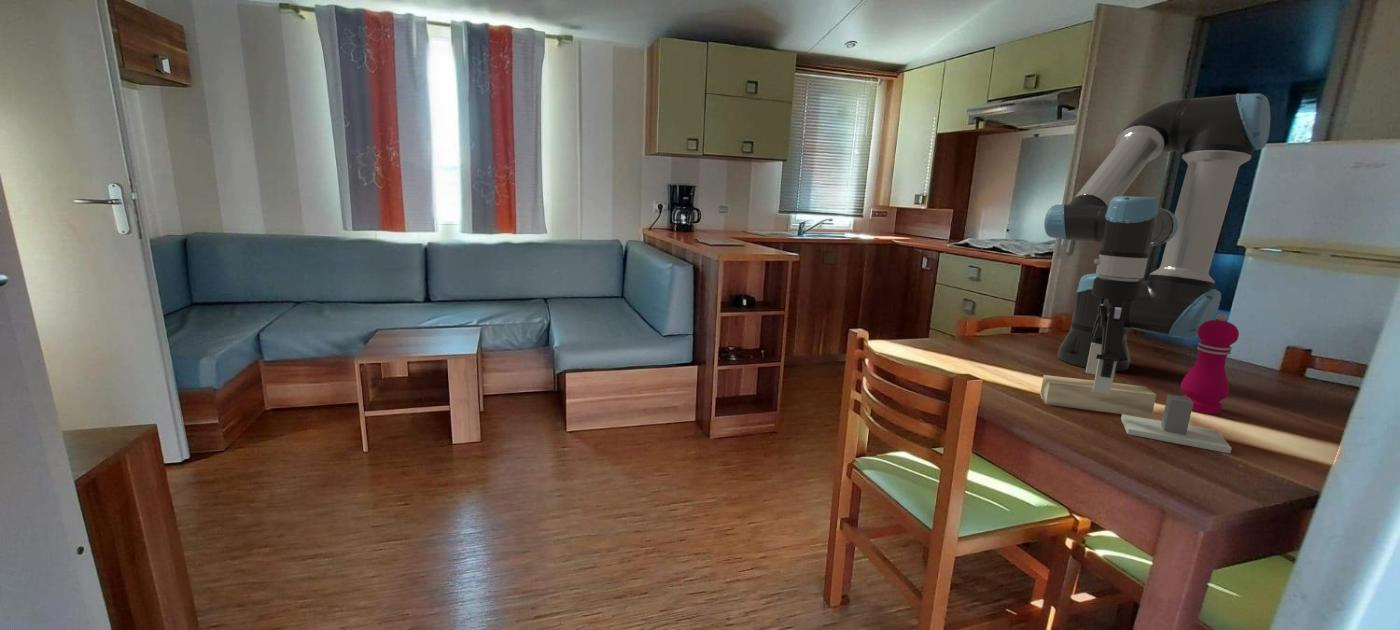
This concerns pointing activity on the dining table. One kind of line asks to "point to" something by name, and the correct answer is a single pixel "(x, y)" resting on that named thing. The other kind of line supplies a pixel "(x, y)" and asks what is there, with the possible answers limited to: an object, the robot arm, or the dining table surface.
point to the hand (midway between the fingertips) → (1097, 382)
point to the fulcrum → (1176, 427)
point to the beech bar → (1097, 396)
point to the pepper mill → (1210, 366)
